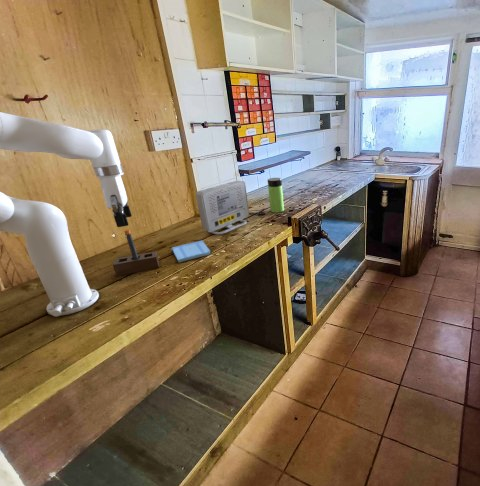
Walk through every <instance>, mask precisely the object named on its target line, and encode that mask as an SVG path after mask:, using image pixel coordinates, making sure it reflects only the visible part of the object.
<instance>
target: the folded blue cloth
mask: <svg viewBox="0 0 480 486" xmlns="http://www.w3.org/2000/svg"><path fill="white" fill-rule="evenodd" d="M171 250H172V252H173V254H174V256H175V258H176V261H177V262H178V263H183V262H187V261H190V260H194V259H198V258H200V257H202V258H203V257H206V256H209V255H210V254H211V250H210V248H209V247H208V246H207V244H206V243H205V242H204V241H203V240H198V241H194V242H190V243H185V244H181V245H178V246H172V247H171Z"/></svg>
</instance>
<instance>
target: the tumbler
mask: <svg viewBox="0 0 480 486" xmlns="http://www.w3.org/2000/svg"><path fill="white" fill-rule="evenodd" d="M267 191H268V199H269V209H270V212H271V213H282V212H284V211H285V206H284V193H283V183H282V178H281V177H270V178H268V179H267Z"/></svg>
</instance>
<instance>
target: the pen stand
mask: <svg viewBox="0 0 480 486" xmlns="http://www.w3.org/2000/svg"><path fill="white" fill-rule="evenodd" d="M137 255H138V259H134V260H133V257H132V255H127V256H122V257H116V258H114V260H113V263H112V267H113V270H114V273H115V276H116V277H121V276H126V275H130V274H135V273H140V272H144V271H151V270H156V269H160V258H159V255H158V251H157V250H155V251H150V252H144V253H139V254H138V253H137Z"/></svg>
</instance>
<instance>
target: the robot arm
mask: <svg viewBox="0 0 480 486" xmlns="http://www.w3.org/2000/svg"><path fill="white" fill-rule="evenodd" d="M0 150H6V151H14V152H23V153H46V154H47V153H48V154H54V155H57V156H58V157H61V158H62V159H68V160H88V161H90V162H91V166H92V169H93V173H94V175H95V177H96V179H99V184H100V187H101V191H102V194H103V198H104V202H105V206H106V208H107V209H109V210H112V215H113V218H114V222H115V224H116V227H117V228H122V227H128V226H129V222H128V218H131V217H132V211H131V208H130V206H129V203H128V196H127V192H126V188H125V185H124V182H123V179H122V176H123V175H124V174H125V173H124V170H123V167H122V163H121V160H120V157H119V153H118V150H117V146H116V143H115V139H114V137H113V134H112V132H111V131H110V130H108V129H104V128H100V129H89V130H84V129H81V128H76V127H71V126H68V125H63V124H60V123H54V122H49V121H44V120H39V119H35V118H31V117H26V116H22V115H17V114H11V113H8V112H7V113H6V112H2V111H0ZM0 232H5V233H9V234H14V235H15V234H16V235H21V236H23V237H24V239H25V245H26V251H27V255H28V256H29V259H30V262H31V263H32V265H33V268H34V270H35V272H36V274H37V276H38V278H39V280H40V282H41V284H42V287H43V289H44V291H45V293H46V295H47V297H48V299H49V301H50V302H49V303H48V304H47V305H46V312H47V314H48V315H51V316H53V317H60V316H67V315H71V314H75V313H78V312H80V311H83V310H85V309H87V308H89V307H90V306H92V305H94V303H96V302H97V300H98V299H99V298H100V293H99V291H98V290H96V289H93V288H90V285H89V284H88V283H89V282H88V281H87V278H86V275H85V273H84V271H83V267H82V266H81V263H80V261H79V259H78V256H77V253H76V251H75V248H74V246H73V242H72V240H71V237H70V233H69V227H68V221H67V217H66V216H65V214H64V212H63V211H62V210H61V209H60V208H59V207H57V206H56V205H53V204H51V203H48V202H44V201H37V200H29V199H22V198H17V197H13V196H9V195H7V194H5V193H3V192H2V191H0Z"/></svg>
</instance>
